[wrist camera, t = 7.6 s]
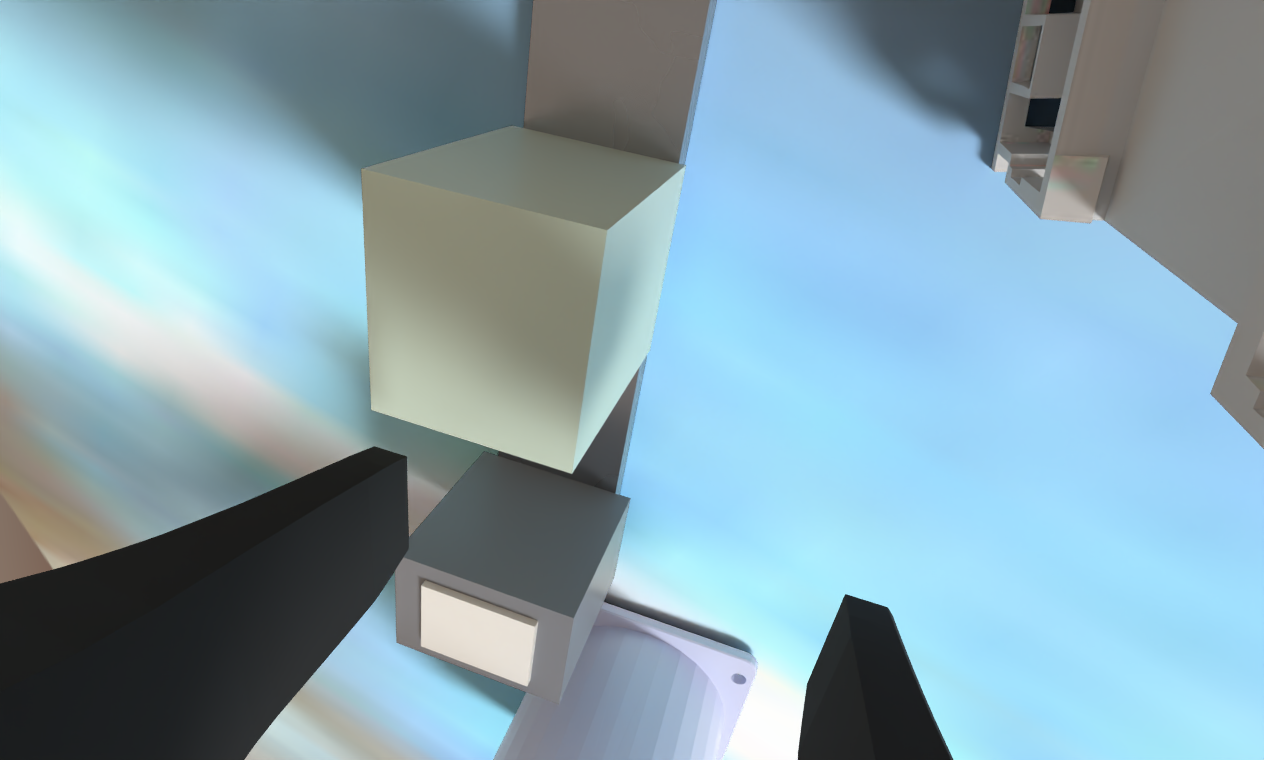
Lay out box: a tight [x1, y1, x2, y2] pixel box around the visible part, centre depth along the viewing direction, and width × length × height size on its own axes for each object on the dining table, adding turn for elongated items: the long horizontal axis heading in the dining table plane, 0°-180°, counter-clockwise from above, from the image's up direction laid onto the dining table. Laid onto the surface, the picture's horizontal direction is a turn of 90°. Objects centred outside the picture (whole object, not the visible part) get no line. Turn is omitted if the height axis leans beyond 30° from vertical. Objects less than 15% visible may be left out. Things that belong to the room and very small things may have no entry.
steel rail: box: [498, 0, 717, 495], centre depth 18 cm, size 24×4×1 cm, turn 171°
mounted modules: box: [395, 451, 630, 705], centre depth 15 cm, size 22×5×5 cm, turn 171°
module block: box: [361, 125, 686, 474], centre depth 15 cm, size 5×5×6 cm
